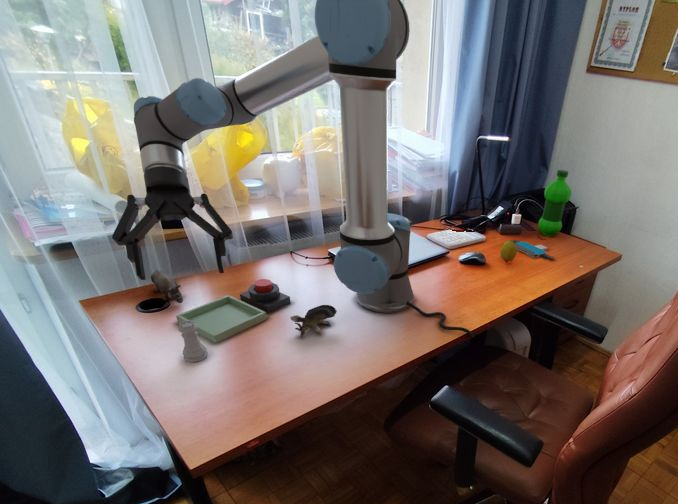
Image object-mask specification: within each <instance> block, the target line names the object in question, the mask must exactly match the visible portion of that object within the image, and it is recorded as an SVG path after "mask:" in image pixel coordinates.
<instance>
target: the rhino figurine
mask: <svg viewBox="0 0 678 504" xmlns="http://www.w3.org/2000/svg"><path fill="white" fill-rule="evenodd" d="M150 279H151V282H152V284H153V285H154V287H155V288H154V291H155V292H161V293H162V294H163V297H162V300H163V301H169V300H170V299H171V298H172V299H173V300H175V302H176V303H178V304H182V303H183V302H184V299H183V297H182V293H181V291H180V289H179V288H181V284H178V283H177V281H175V279H174V278H173V277H171V276H170V275H169V274H168V272H167V271H165V270H162V269H155V271H153V272H152V273H151V275H150ZM169 296H170V297H171V298H170V297H169Z"/></svg>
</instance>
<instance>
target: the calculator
mask: <svg viewBox="0 0 678 504" xmlns="http://www.w3.org/2000/svg"><path fill="white" fill-rule="evenodd" d="M426 238H427V239H428V240H429V241H432V242H433V243H435V244H438V245H439V246H441V247H443V248H446V249H448V250H453V249H457V248H463V247H465V246H469V245H470V246H471V245H474V244H477V243H481V242H485V241H486V239H487V236H485V235H484V234H482V233H479V232H477V231H475V232H466V231H464V232H456V231H452V230H450V229H446V230H440V231H435V232H432V233H428V234H426Z"/></svg>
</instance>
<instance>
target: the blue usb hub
mask: <svg viewBox="0 0 678 504" xmlns="http://www.w3.org/2000/svg"><path fill="white" fill-rule="evenodd" d="M512 242H514V243H515V245H516V247H517V251H519V252H521V253H523V254H525V255H527V256H529V257H531V258H533V259H536V258H542V259H544V260H550V261H554V256H550V255H549V254H547V253H548V252H547V251H546V250H548V249H549V247H547V246H545V245H544V244H537V245H533V244H531V243H529V242H527V241H520V240H517V239H512Z"/></svg>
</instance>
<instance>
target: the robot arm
mask: <svg viewBox="0 0 678 504" xmlns="http://www.w3.org/2000/svg"><path fill="white" fill-rule="evenodd" d="M315 1H316V2H315V8H314V24H315V30H316V33H317V35H316V36H314V37H313V38H311V39H309V40H307V41H305V42H303V43H301V44H299V45H297V46H295V47H293V48H292V49H290V50H288V51H286V52H283V53H282V54H280V55H278V56H276V57H274V58H272V59H271V60H269V61H266V62H265V63H263V64H261V65H259V66H257V67H255V68H253V69H251V70H249V71H248V72H245V73H244V74H241V75H240V76H238V77H236V78H234V79H232V80H231V81H228V82H226V83H224V84H222V85H213V84H212V83H211V82H209V81H206V80H205V79H204V78H201V77H194V78H192V79H190V80H187V81H186V82H183V83H181V84H180V85H179V86H178V88H176V89H175V90H174V91H172V92H171V93H169V94H168V95H167V96H165V97H164V98H161V97H159V96H153V95H148V96H146V97H143V96H140V97H138V98H137V99H136V100H135V102H134V104H133V116H134V117H133V123H134V126H135V131H136V138H137V144H138V149H139V154H140V155H139V156H140V160H141V167H142V168H141V169H142V172H143V180H144V186H145V193H146V194H145V197H135V195H133V194H128V195H127V196H126V207H125V209H124V211H123V212H122V215H121V218H120V219H119V221H118V223H117V225H116V227H115V229H114V231H113V232H112V236H111V239H112V240H113V241H114V242H115V243H116V244H117V246H125V251H126V257H127V259H128V260H129V261H130V263H134V266H135V273H136V276H137V277H138V278H139V280H140V281H145V280H146V278H147V277H146V273H145V271H146V270H145V266H144V258H143V252H142V248H141V247H140V245H139V244H140V242H141V241H142V240H143V239H144V238H145V237H146V235H147V234H148V233H149V232H150V231H151V230H152V229H153V227H154V226H155V225H156V224H159V222H160V221H162V220H164V221H172V220H177V221H183V220H184V219H186V218H187V220H189V221H191V223H194V224H195V225H197V226H198V227H199V228H201V229H202V230H203V231H204V232H205V233H207V234H208V235H210V237H212V242H213V249H214V253H215V259H216V265H217V270H218V272H219V274H225V270H224V266H223V265H224V264H223V260H222V257H227V255H228V253H227V249H226V241H228V240H232V239H234V234H233V230H232V229H231V227H230V226H229V225H228V224H227V223H226V222H225V220H224V218H222V216H221V215H220V214H219V213H218V211H217V210H216V209H215V208H214V207H213V206H212V204H211V203H210V199H209V197H208V195H207V193H201V194H200V196H192V194H191V189H190V182H189V178H188V171H187V166H186V160H185V154H184V149H183V147H184V146H183V144H184V143H186V142H188V141H190V140H191V139H192V138H194V137H196V136H197V135H199V134H200V133H201V134H202V133H203V132H205V131H207V130H215V129H221V128H225V127H231V126H242V125H246V124H249V123H251V122H253V121H254V120H256V119H257V117H258V116H260V115H261V114H264V113H266V112H268V111H270V110H272V109H274V108H276V107H279V106H281V105H283V104H285V103H287V102H289V101H291V100H294V99H296V98H298V97H301V96H303V95H305V94H306V93H309V92H311V91H313V90H315V89H317V88H320V87H322V86H324V85H327V84H328V83H330V82H332V81H334V82H335V83H336V84H337V86H338V92H339V109H340V126H341V129H340V130H341V147H342V164H343V166H342V167H343V181H344V182H343V183H344V185H343V186H344V201H345V202H344V203H345V221H344V222H343V223H341V224H340V226H339V241H340V242H339V243H340V249H339V250H338V251H337V252H336V253H335V257H334V260H333V270H334V273H335V275H336V277H337V279H338V280H339V282H340V283H341V284H343V285H344V286H345V287H346V288H348V290H350V291H352V292H354V293H356V301H357V303H358V304H359V305H360V306H361V307H362V308H364V309H366V310H368V311H371V312H375V313H382V314H392V313H393V314H394V313H398V312H402V311H405V310H407V309H410V308H412V309H413V310H415V311H416V312H418V314H420V315H421V316H424V317H427V318H430V317H436V316H441V319H439V322H438V325H439V327H440V328H441V329H443V330H446V331H460V332H464V333H466V334H468V336H469V337H470V338H475V335H474V334H473V333H472V332H471V330H469V329H467V328H466V327H463V326H462V327H461V326H448V325H446V324H445V325H444V322H445V320H446V318H447V316H446V314H445V313H444V312H440V311H436V312H431V313H430V312H429V313H427V312H424V311H423V310H422V309H420V308H419V307H418V306H416V305H415V304H414V295H415V294H414V290H413V288H412V284H411V280H410V276H409V263H410V262H409V261H410V259H409V258H410V245H411V244H410V241H411V232H412V231H411V221H410V219H408V218H407V217H405V216H403V215H399V214H396V213H390V212H388V210H389V209H388V204H389V203H388V199H389V198H388V197H389V195H388V190H389V188H388V186H389V185H388V184H389V183H388V181H389V180H388V179H389V177H388V176H389V175H388V174H389V173H388V172H389V171H388V169H389V167H388V166H389V165H388V164H389V159H388V158H389V157H388V155H389V154H388V153H389V151H388V149H389V147H388V145H389V143H388V141H389V140H388V139H389V138H388V137H389V136H388V135H389V133H388V131H389V129H388V125H389V123H388V121H389V119H388V117H389V116H388V115H389V114H388V112H389V111H388V109H389V108H388V107H389V105H388V104H389V101H388V100H389V96H388V95H389V94H388V93H389V90H390V88H391V87H392V86H393V85H394V84H395V83H396V82H397V61H398V59H399V58H401V56H402V55H403V53H404V52H405V50H406V48H407V46H408V43H409V40H410V31H411V30H410V21H409V20H410V19H409V16H408V12H407V10H406V8H405V5H404V3H403V2H402V0H315ZM195 205H198V206H199V207H200V208H201V209H204V210H205V212H206V213H207V215H208V216H209V217H210V218H211V220H212V221H213V222H214V223H215V224H216V226H217V227H218V228H219V230H218V229H217V228H216V227H215V226H214V225H212V224H211V223H210V222H208V221H207V220H206V219H205V218H204V217H202V216H201V215H200V214H199V213H197V212H196V211H195V210H194V209H193V208H194V207H195ZM144 206H147V207H148V209H147V210H146V211H145V215H143V217H142V218H141V219H140V220H139V221H138V223H137V224H135V222H136V219H137V217H138V215H139V211H141V210H142V209H143V207H144ZM134 224H135V226H134Z"/></svg>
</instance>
